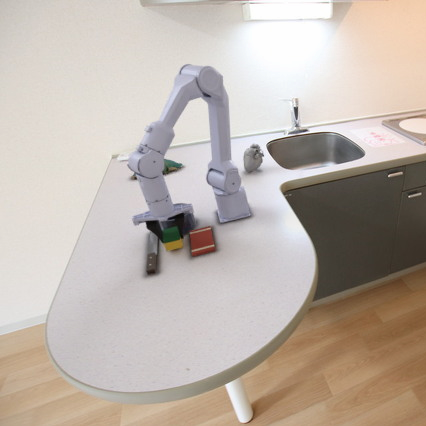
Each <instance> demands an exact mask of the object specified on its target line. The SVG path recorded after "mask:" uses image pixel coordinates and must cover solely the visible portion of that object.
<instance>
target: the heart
mask: <svg viewBox="0 0 426 426" xmlns="http://www.w3.org/2000/svg"><path fill="white" fill-rule="evenodd" d="M242 157H243V158H242V159H243V160H242V161H243V169H244V171H245V172H246V173H250V174H251V173H252V172H254V171H257V170H258V169H259V168H260V167H261V166H262V164H263V160H264V159H263V158H264V157H265V154H264V150H262V148H261V146H260V145H259V144H258V143H252V144H250V146H249V147H247V148H246V149H245V150H244V152H243V156H242Z"/></svg>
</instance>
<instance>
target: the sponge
mask: <svg viewBox="0 0 426 426" xmlns="http://www.w3.org/2000/svg"><path fill="white" fill-rule="evenodd" d="M183 240H184V239H181V237H180V234H179V230H178V228H177V226H176V227H172V228H168V229H164V230H163V243H162V244H163V245H164V249H165V251H166V252H170V251H174V250H178V249H182V248H184V242H183Z"/></svg>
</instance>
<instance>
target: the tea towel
mask: <svg viewBox="0 0 426 426" xmlns="http://www.w3.org/2000/svg"><path fill="white" fill-rule="evenodd" d="M189 239H190V249H191V256H192V257H193V258H194V257H197V256H200V255H204V254H209V253H212V252H216V246H215V241H214V236H213V231H212V227H211V225H208V226H204V227H200V228H196V229H195V228H194V229H192V230H191V231H189Z"/></svg>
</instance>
